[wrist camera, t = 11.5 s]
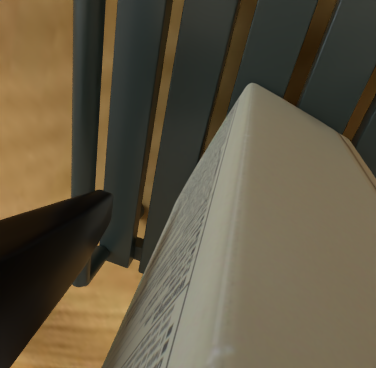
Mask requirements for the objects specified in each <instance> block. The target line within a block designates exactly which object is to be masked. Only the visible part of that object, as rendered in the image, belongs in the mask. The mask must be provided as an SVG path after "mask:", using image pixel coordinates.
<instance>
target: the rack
mask: <svg viewBox="0 0 376 368" xmlns="http://www.w3.org/2000/svg"><path fill="white" fill-rule="evenodd" d="M172 3H173V0H118V4H117V18H116V31H115V45H114V58H113V72H112V85H111V98H110V112H109V125H108V139H107V152H106V166H105V179H104V191H106V192H109V193H112V195H113V207H112V217H111V221H110V223H109V225H108V227H107V229H106V231H105V232H104V234H103V236H102V238H101V239H100V246H96V248H95V250H94V251H93V253H92V255H91V257H90V258H89V260H88V262H87V263H86V265H85V267H84V268H83V270H82V271H81V272H80V274H79V275H78V276H77V278H76V279H75V281H74V282H73V283H72V285H74V286H76V287H83V286H87V285H88V284H89V283H90V282H91V280H92V279H93V277H94V276H95V275H96V273H97V272H98V271H99V269H100V268H101V266H102V265H103V264H104V262H105V261H109V262H112V263H114V264H117V265H120V266H123V267H125V268H128V267H129V265H130V264H131V262H132V261H133V259H136V260H138V261H140V265H139V272H140V273H143V274H144V272H145V270H146V267H147V265H148V263H149V261H150V258H151V256H152V254H153V252H154V250H155V248H156V245H157V243H158V241H159V239H160V237H161V234H162V232H163V230H164V228H165V225H166V223H167V221H168V219H169V217H170V214H171V212H172V210H173V207H174V205H175V203H176V201H177V199H178V197H179V195H180V193H181V192H182V190H183V188H184V186H185V185H186V183H187V181H188V179H189V178H190V176H191V174H192V173H193V171H194V169H195V167H196V166H197V164H198V162H199V161H200V159H201V158H202V155H203V151H204V147H205V143H206V139H207V135H208V131H209V127H210V123H211V119H212V115H213V111H214V107H215V103H216V99H217V95H218V91H219V87H220V83H221V79H222V75H223V71H224V67H225V63H226V59H227V55H228V51H229V47H230V43H231V39H232V35H233V31H234V27H235V23H236V19H237V15H238V11H239V7H240V3H241V0H184V6H183V12H182V18H181V24H180V30H179V35H178V41H177V47H176V53H175V59H174V65H173V71H172V77H171V83H170V89H169V94H168V100H167V106H166V112H165V118H164V124H163V130H162V136H161V142H160V148H159V153H158V159H157V165H156V171H155V177H154V183H153V189H152V195H151V201H150V207H149V212H148V218H147V224H146V230H145V236H144V239H142V238H139V237H137V232H138V225H139V220H140V218H141V217H142V216H143V214H144V207H143V206H142V199H143V193H144V186H145V180H146V173H147V167H148V160H149V153H150V147H151V140H152V134H153V127H154V121H155V114H156V108H157V101H158V95H159V88H160V82H161V75H162V69H163V62H164V56H165V49H166V42H167V36H168V29H169V23H170V16H171V10H172ZM317 3H318V0H258V2H257V5H256V9H255V12H254V16H253V20H252V23H251V27H250V31H249V34H248V38H247V42H246V45H245V49H244V53H243V56H242V60H241V64H240V67H239V71H238V74H237V78H236V82H235V85H234V89H233V93H232V96H231V100H230V104H229V107H228V111H227V115H228V114H229V112H230V111H231V109H232V107H233V106H234V104H235V103H236V101H237V100H238V98H239V97H240V95H241V94H242V92H243V91H244V89H245V87H246V86H247V85H248V84H250V83H255V84H258V85H259V86H261V87H263V88H265V89H266V90H268V91H270V92H272V93H274V94H275V95H277V96H279V97H281V98H282V99H283V97H284V94H285V92H286V89H287V86H288V83H289V81H290V78H291V75H292V72H293V70H294V67H295V64H296V61H297V58H298V56H299V53H300V50H301V47H302V45H303V42H304V39H305V36H306V33H307V31H308V28H309V25H310V22H311V20H312V17H313V14H314V11H315V9H316V6H317ZM105 4H106V0H73V87H72V176H71V198H73V197H77V196H80V195H83V194H86V193H89V192H93V191H95V179H96V161H97V144H98V126H99V109H100V91H101V74H102V56H103V39H104V21H105ZM375 66H376V0H337V2H336V4H335V7H334V9H333V12H332V14H331V17H330V20H329V22H328V25H327V27H326V30H325V32H324V35H323V38H322V40H321V43H320V45H319V48H318V51H317V53H316V56H315V58H314V61H313V63H312V66H311V69H310V71H309V74H308V76H307V79H306V82H305V84H304V87H303V89H302V92H301V94H300V97H299V100H298V102H297V105H296V107H297V108H299V109H301V110H302V111H304V112H306V113H307V114H309V115H311V116H312V117H314V118H316V119H317V120H319V121H321V122H322V123H324V124H325V125H327V126H328V127H330V128H332V129H333V130H335V131H336V132H338V133H340V134H341V135H342V134H343V132H344V130H345V128H346V125H347V123H348V121H349V119H350V117H351V115H352V113H353V111H354V109H355V107H356V105H357V103H358V101H359V99H360V97H361V95H362V93H363V91H364V89H365V87H366V84H367V82H368V80H369V78H370V76H371V74H372V72H373V70H374V68H375ZM227 115H226V117H227ZM225 119H226V118H225ZM351 143H352V144H353V146H354V147H355V149H356V150H357V152H358V153H359V155H360V156H361V158H362V159H363V161H364V162H365V164H366V165H367V166H368V168H369V169H370V171H371V172H372V174H373V175H374V177H375V178H376V94H375V96H374V98H373V100H372V102H371V104H370V106H369V108H368V110H367V112H366V114H365V116H364V118H363V120H362V122H361V124H360V125H359V127H358V129H357V131H356V133H355V135H354V137H353V139H352V141H351Z"/></svg>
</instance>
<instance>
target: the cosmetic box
mask: <svg viewBox="0 0 376 368" xmlns="http://www.w3.org/2000/svg"><path fill="white" fill-rule="evenodd" d="M102 368H376V178H375V177H374V175H373V174H372V172H371V171H370V169H369V168H368V166H367V165H366V164H365V162H364V161H363V159H362V158H361V156H360V155H359V153H358V152H357V150H356V149H355V147H354V146H353V144H352V143H351V142H350V140H349V139H348V138H346V137H345V136H343V135H341V134H340V133H338V132H336V131H335V130H333V129H332V128H330V127H328V126H327V125H325V124H324V123H322V122H321V121H319V120H317V119H316V118H314V117H312V116H311V115H309V114H307V113H306V112H304V111H302V110H301V109H299V108H297V107H296V106H294V105H292V104H291V103H289V102H287V101H286V100H284V99H282V98H281V97H279V96H277V95H275V94H274V93H272V92H270V91H268V90H266V89H265V88H263V87H261V86H259V85H258V84H255V83H250V84H248V85H247V86H246V87H245V89H244V91H243V92H242V94H241V95H240V97H239V98H238V100H237V101H236V103H235V104H234V106H233V107H232V109H231V111H230V112H229V114H228V115H227V117H226V119H225V120H224V122H223V123H222V125H221V126H220V128H219V130H218V131H217V133H216V135H215V136H214V138H213V139H212V141H211V143H210V144H209V146H208V148H207V149H206V151H205V153H204V154H203V156H202V158H201V159H200V161H199V162H198V164H197V166H196V167H195V169H194V171H193V173H192V174H191V176H190V178H189V179H188V181H187V183H186V185H185V186H184V188H183V190H182V192H181V193H180V195H179V197H178V199H177V201H176V203H175V205H174V207H173V210H172V212H171V214H170V217H169V219H168V221H167V223H166V225H165V228H164V230H163V232H162V234H161V237H160V239H159V241H158V243H157V245H156V248H155V250H154V252H153V254H152V256H151V258H150V261H149V263H148V265H147V267H146V270H145V272H144V274H143V276H142V279H141V281H140V283H139V285H138V288H137V290H136V292H135V294H134V297H133V299H132V301H131V303H130V306H129V308H128V310H127V312H126V315H125V317H124V319H123V321H122V324H121V326H120V328H119V330H118V332H117V335H116V337H115V339H114V341H113V344H112V346H111V348H110V350H109V353H108V355H107V357H106V359H105V361H104V364H103V366H102Z"/></svg>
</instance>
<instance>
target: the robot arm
mask: <svg viewBox="0 0 376 368" xmlns="http://www.w3.org/2000/svg"><path fill="white" fill-rule="evenodd" d="M112 207H113V195H112V193H109V192H106V191H103V190H96V191H93V192H89V193H86V194H83V195H80V196H77V197H73V198H70V199H67V200H64V201H60V202H57V203H54V204H51V205H48V206H44V207H41V208H38V209H35V210H31V211H28V212H25V213H22V214H19V215H15V216H12V217H9V218H6V219H2V220H0V368H10V367H11V365H12V364H13V363H14V361H15V360H16V359H17V357H18V356H19V355H20V353H21V352H22V351H23V349H24V348H25V347H26V345H27V344H28V342H29V341H30V340H31V338H32V337H33V336H34V334H35V333H36V332H37V330H38V329H39V328H40V326H41V325H42V324H43V322H44V321H45V320H46V318H47V317H48V316H49V314H50V313H51V311H52V310H53V309H54V307H55V306H56V305H57V303H58V302H59V301H60V299H61V298H62V297H63V295H64V294H65V293H66V291H67V290H68V289H69V287H70V286H71V285H72V283H73V282H74V281H75V279H76V278H77V276H78V275H79V274H80V272H81V271H82V270H83V268H84V267H85V265H86V263H87V262H88V260H89V258H90V257H91V255H92V253H93V251H94V250H95V248H96V246H97V244H98V243H99V241H100V239H101V238H102V236H103V234H104V232H105V231H106V229H107V227H108V225H109V223H110V221H111V217H112Z"/></svg>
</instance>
